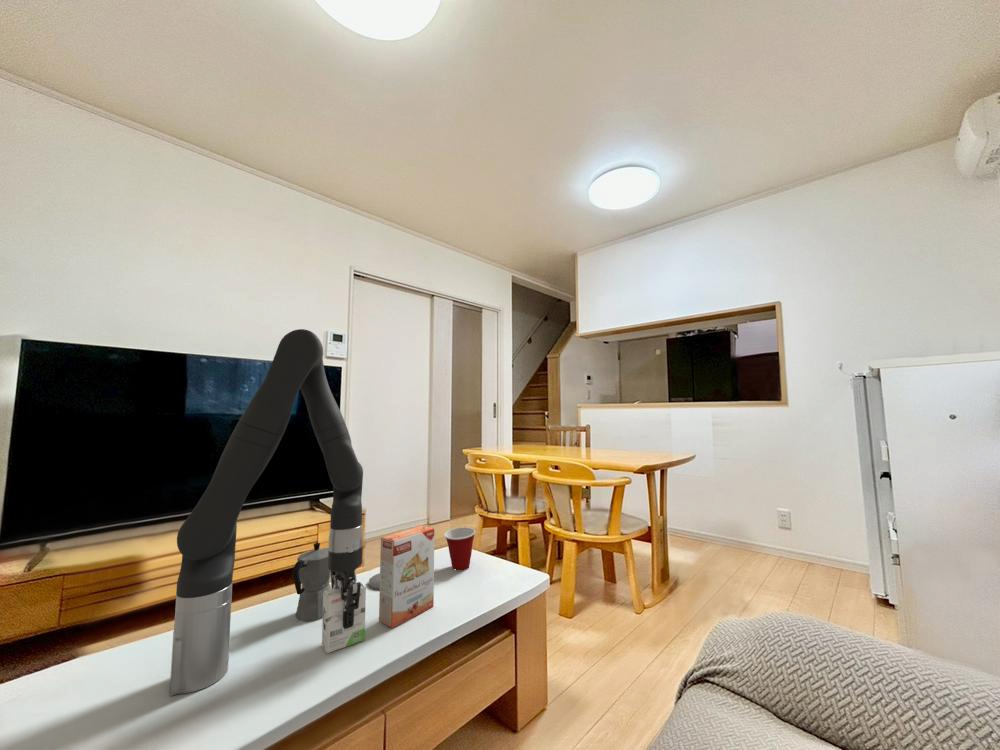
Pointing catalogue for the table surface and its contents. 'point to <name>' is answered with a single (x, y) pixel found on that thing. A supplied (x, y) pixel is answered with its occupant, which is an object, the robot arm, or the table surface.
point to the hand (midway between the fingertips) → (343, 621)
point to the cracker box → (406, 575)
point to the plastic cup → (460, 546)
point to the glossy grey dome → (375, 581)
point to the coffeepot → (311, 582)
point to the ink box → (341, 621)
